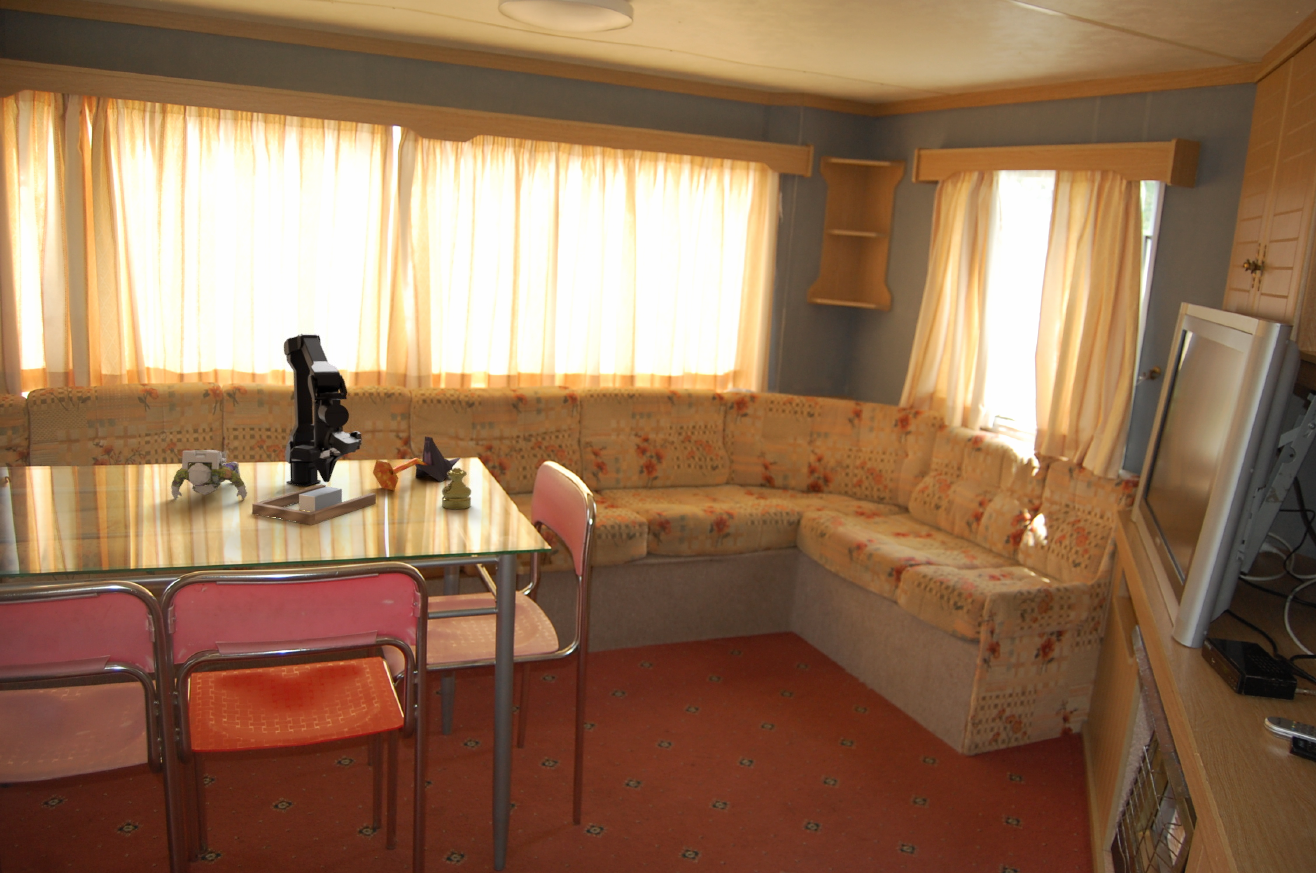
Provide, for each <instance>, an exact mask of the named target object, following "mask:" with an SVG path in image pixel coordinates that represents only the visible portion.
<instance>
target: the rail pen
mask: <svg viewBox="0 0 1316 873" xmlns="http://www.w3.org/2000/svg"><path fill="white" fill-rule="evenodd" d="M324 487H327V485H326V484H317V485H315V486H310V487H307V488H304V489H300V490H297V491H292V492H289V493H286V494H283V495H279V496H275V497H272V498H269V499H264V500H262V501H258V502H253V503H252V504H251V505H252V506H251V508H252V509H251V510H252V511H251V513H252V515H255V514H258V515H257V516H260V515H263V516H262V517H265V516H269V517H268V518H271V517H276V518H281V519H283V520H282V521H286V520H290V521H289V522H291V521H296V522H295V523H297V522H298V523H299V524H302V523H304V524H303V525H307V524H310V525H309V526H312V524H313V525H315V523H316V524H318V523H321V522H320V521H322V522H325V521H328V520H330V519H333V518H336V517H339V516H341V515H345V514H348V513H352V512H353V511H357V510H359V509H363V508H366V507H369V506H372V505H375V504H376V503H377V494H376V493H374V492H373V493H372V492H370V493H367V494H364V495H360V496H358V497H354V498H351V499H348V500H346V501H342V502H341V503H338V504H335V505H332V506H329V507H325V508H322V509H319V510H316V511H313V512H306V511H300V510H298V509H293V508H288V505H289V506H291V505H290V504H292V505H294V504H293V503H295V504H297V503H296V502H299V495H300V494H303V493H306V492H310V491H313V490H317V489H320V488H324ZM284 506H285V507H284ZM276 518H275V519H276ZM329 518H330V519H329ZM281 519H280V520H281ZM327 519H328V520H327ZM324 520H325V521H324ZM298 523H297V524H298Z"/></svg>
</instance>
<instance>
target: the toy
mask: <svg viewBox="0 0 1316 873" xmlns="http://www.w3.org/2000/svg"><path fill="white" fill-rule="evenodd" d="M227 461H228V458H227V451H220V450H216V449H214V450H213V449H201V450H182V462H181V467H180V468H179V469H178V470H176V471H175V472H176V473H175V474H174V476H173V480H172V482H171V485H170V486H171V488H170V489H171V496H172V497H173V499H174V500H176V501H177V499H178V498H179V496H180V497H183V493H182V492H181V491H180V489H181V487H182V485H183V483H184V482H185V481H186V480H187V481H188V482H189V483H190V484H192V488H191V489H192V491H194V492H195V493H199V494H201V495H203V496H205V495H206V496H207V495H210V493H213V492H215V491H217V490H218V488H219V487H220V486H221V484H222V483H223V482H225V481H229V482H230V483H232V484H233V485H234V487H235V488H236V489H237V493H236V497H239V496H240V497H241V500H242V499H244V500H245V499H246V497H247V496H248V492H247V488H246V485H245V482H244V481H243V479H242V478H241V473H240V464H239V462H237V461H230V462H227Z"/></svg>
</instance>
